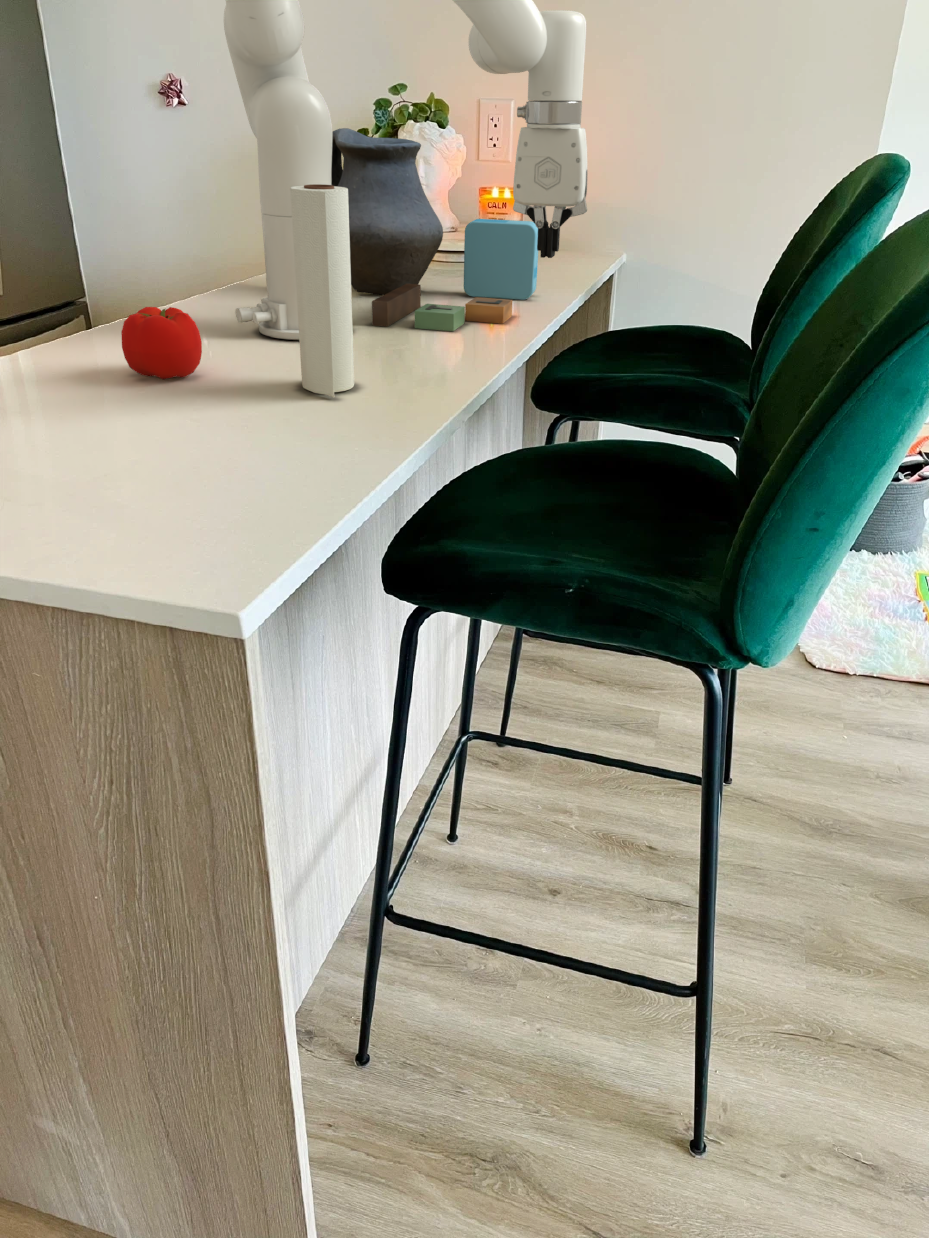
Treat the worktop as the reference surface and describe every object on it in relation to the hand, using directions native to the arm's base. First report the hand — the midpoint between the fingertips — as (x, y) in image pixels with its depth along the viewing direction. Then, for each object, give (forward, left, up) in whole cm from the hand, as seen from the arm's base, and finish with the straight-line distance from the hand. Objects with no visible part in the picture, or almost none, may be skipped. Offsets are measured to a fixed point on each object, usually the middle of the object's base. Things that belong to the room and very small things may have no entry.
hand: (547, 256), depth 140 cm
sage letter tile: (-15, +6, -10) cm, 19 cm away
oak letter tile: (-6, +7, -10) cm, 13 cm away
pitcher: (-7, +36, -10) cm, 38 cm away
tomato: (-59, 0, -10) cm, 60 cm away
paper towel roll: (-46, -15, -10) cm, 50 cm away
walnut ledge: (-17, +15, -10) cm, 25 cm away
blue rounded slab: (+8, +21, -10) cm, 24 cm away
